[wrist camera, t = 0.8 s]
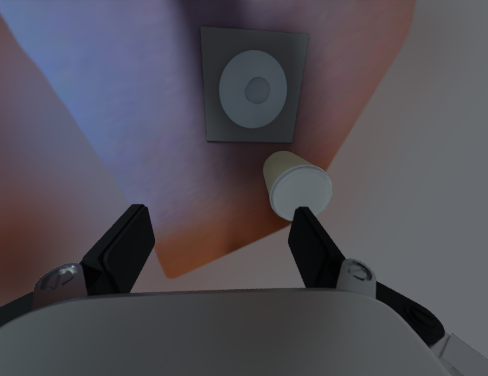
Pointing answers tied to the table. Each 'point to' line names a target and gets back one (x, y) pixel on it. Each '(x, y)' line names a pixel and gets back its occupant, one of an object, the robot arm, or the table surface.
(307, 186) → the coffee cup
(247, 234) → the table surface
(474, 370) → the robot arm
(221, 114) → the mat
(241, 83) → the lid
